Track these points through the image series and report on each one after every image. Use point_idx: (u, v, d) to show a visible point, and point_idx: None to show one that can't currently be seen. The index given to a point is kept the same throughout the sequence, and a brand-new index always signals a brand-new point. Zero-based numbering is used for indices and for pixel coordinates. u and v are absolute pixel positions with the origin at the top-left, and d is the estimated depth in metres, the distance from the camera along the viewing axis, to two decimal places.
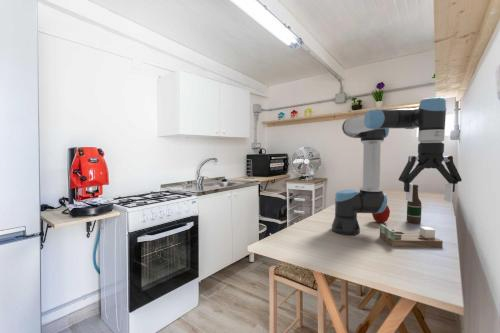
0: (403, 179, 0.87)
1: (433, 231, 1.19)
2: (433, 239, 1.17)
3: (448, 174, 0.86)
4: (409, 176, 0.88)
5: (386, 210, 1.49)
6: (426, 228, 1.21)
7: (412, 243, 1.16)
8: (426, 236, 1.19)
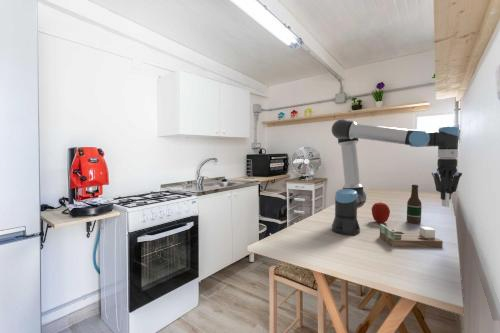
0: (440, 190, 1.18)
1: (433, 231, 1.19)
2: (433, 239, 1.17)
3: (451, 185, 1.18)
4: (442, 188, 1.19)
5: (386, 210, 1.49)
6: (426, 228, 1.21)
7: (412, 243, 1.16)
8: (426, 236, 1.19)
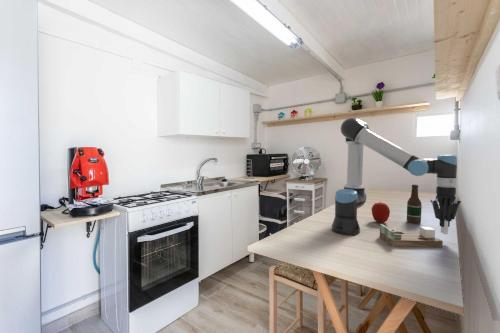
0: (439, 218, 1.19)
1: (433, 231, 1.19)
2: (433, 239, 1.17)
3: (449, 212, 1.19)
4: (441, 215, 1.20)
5: (386, 210, 1.49)
6: (426, 228, 1.21)
7: (412, 243, 1.16)
8: (426, 236, 1.19)
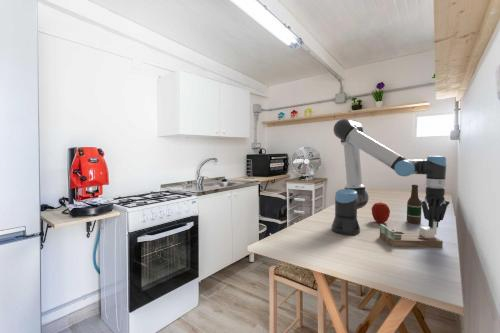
0: (428, 218, 1.20)
1: (433, 231, 1.19)
2: (433, 239, 1.17)
3: (438, 213, 1.19)
4: (430, 216, 1.21)
5: (386, 210, 1.49)
6: (426, 228, 1.21)
7: (412, 243, 1.16)
8: (426, 236, 1.19)
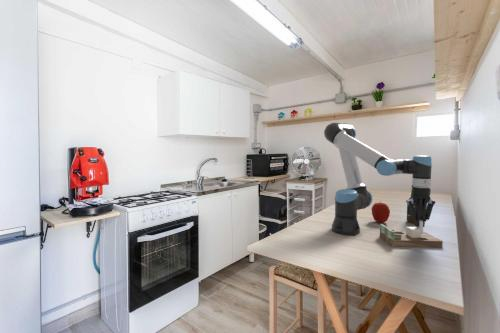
0: (414, 218, 1.20)
1: (419, 231, 1.19)
2: (433, 239, 1.17)
3: (424, 213, 1.20)
4: (416, 215, 1.21)
5: (386, 210, 1.49)
6: (412, 228, 1.21)
7: (412, 243, 1.16)
8: (412, 236, 1.19)
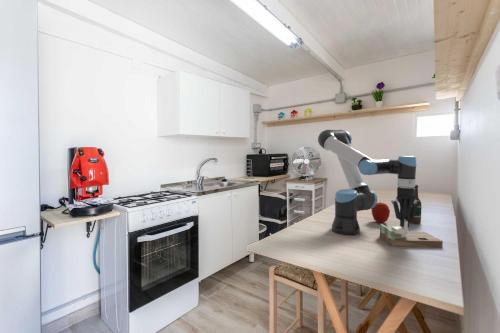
0: (399, 218, 1.21)
1: (404, 231, 1.20)
2: (433, 239, 1.17)
3: (409, 213, 1.20)
4: (401, 215, 1.22)
5: (386, 210, 1.49)
6: (397, 228, 1.22)
7: (412, 243, 1.16)
8: None
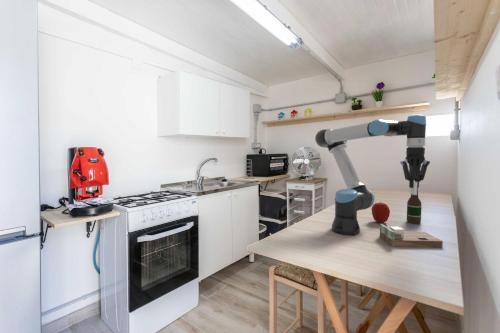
0: (408, 179, 1.19)
1: (402, 231, 1.20)
2: (433, 239, 1.17)
3: (418, 173, 1.18)
4: (410, 176, 1.20)
5: (386, 210, 1.49)
6: (395, 228, 1.21)
7: (412, 243, 1.16)
8: None
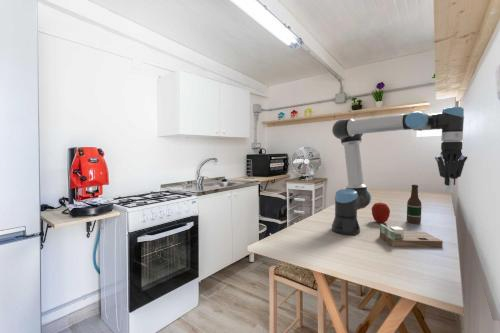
0: (444, 175, 1.11)
1: (402, 231, 1.20)
2: (433, 239, 1.17)
3: (455, 169, 1.11)
4: (446, 173, 1.12)
5: (386, 210, 1.49)
6: (395, 228, 1.21)
7: (412, 243, 1.16)
8: None
